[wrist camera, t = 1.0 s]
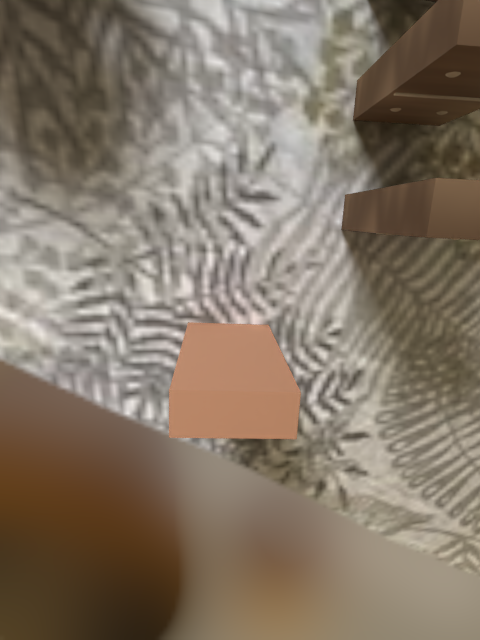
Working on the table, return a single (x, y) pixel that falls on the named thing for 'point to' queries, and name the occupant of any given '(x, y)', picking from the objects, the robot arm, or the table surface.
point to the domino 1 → (232, 385)
